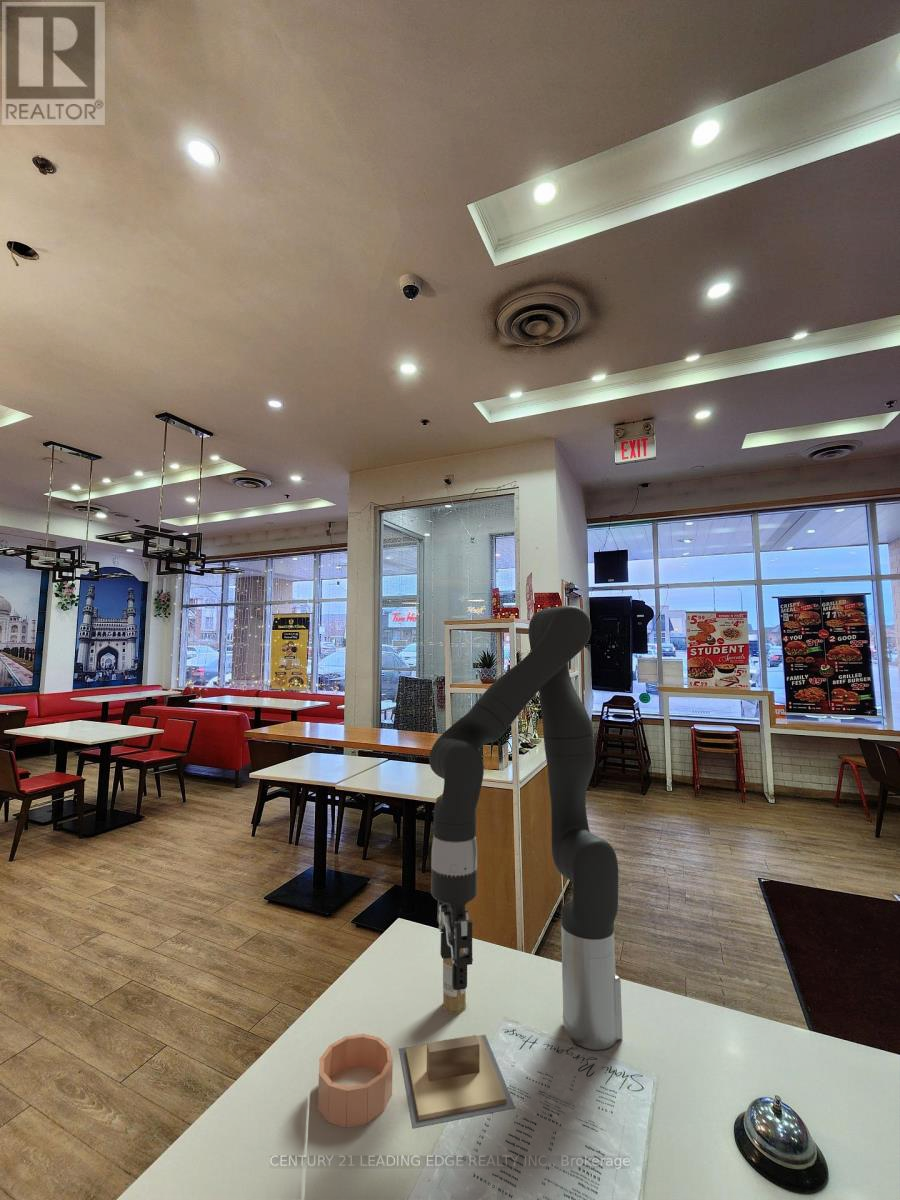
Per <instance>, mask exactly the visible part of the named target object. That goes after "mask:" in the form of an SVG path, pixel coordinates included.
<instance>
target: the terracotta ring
mask: <svg viewBox="0 0 900 1200" xmlns="http://www.w3.org/2000/svg"><path fill="white" fill-rule="evenodd" d="M392 1054H393V1053H392V1049H391V1046H389V1044H388V1043H387V1042H385V1040H383V1039H382V1038H381V1037H378V1036H374V1035H370V1034H366V1033H358V1034H353V1035H347V1036H343V1037H342V1038H340V1039H339V1040H337V1041H335V1042H333V1043H331V1044H330V1045H328V1046H327V1048H326V1049H325V1051H324V1052H323V1053H322V1055H321V1056H320V1057H319V1061H318V1062H319V1064H318V1065H319V1066H318V1067H319V1068H318V1090H317V1092H318V1093H317V1110H318V1111H319V1112H320V1114H321V1115H322V1116H323V1118H324V1119H325V1120H326V1122H328V1123H331V1124H333V1125H337V1126H340V1127H343V1128H350V1127H356V1126H360V1125H361V1126H362V1125H365V1124H369V1123H370V1122H371V1121H372V1120H374V1119H376V1118H377V1117H378V1116H380V1115H382V1114H383V1113H384V1112H385V1110H386V1108H387V1106H388V1104H389V1102H390V1100H391V1098H392V1096H393V1063H394V1061H393V1055H392Z"/></svg>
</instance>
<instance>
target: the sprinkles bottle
mask: <svg viewBox="0 0 900 1200" xmlns="http://www.w3.org/2000/svg"><path fill="white" fill-rule="evenodd" d="M454 938H455V936H454ZM461 953H464V950H463V948H461V949H460V954H461ZM466 991H467V988H466V989H462V990H454V989H453V986H452V959H451V958H446V959H443V958H442V992H443V993H442V995H443V996H442V997H443V998H442V999H443V1002H442V1009H443V1010H444V1011H445V1012H446V1013H448V1014H451V1015H459V1014H462V1013H463V1012H465V1011H466V1010H467V1002H466V1000H467V997H466V996H467V995H466V994H467V992H466Z"/></svg>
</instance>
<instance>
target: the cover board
mask: <svg viewBox="0 0 900 1200" xmlns="http://www.w3.org/2000/svg"><path fill="white" fill-rule="evenodd" d="M426 1044H427V1045H425V1044H421V1045H422V1046H418V1045H415V1046H416V1047H412V1046H408V1047H409V1048H406V1047H405V1048H406V1056H407V1062H408V1067H409V1072H410V1077H411V1083H412V1088H413V1093H414V1099H415V1104H416V1109H417V1115H418V1120H423V1119H428V1118H434V1117H439V1116H444V1115H449V1114H454V1113H459V1112H464V1111H469V1110H475V1109H480V1108H485V1107H490V1106H495V1105H500V1104H505V1103H507V1098H506V1096H505V1093H504V1091H503V1089H502V1086H501V1084H500V1081H499V1079H498V1076H497V1074H496V1071H495V1069H494V1066H493V1064H492V1061H491V1059H490V1056H489V1054H488V1051H487V1049H486V1046H485V1044H484V1041H483V1039H482V1036H480V1035H476V1034H474V1035H468V1036H467V1035H466V1036H463V1037H461V1036H460V1037H455V1038H449V1039H444V1040H443V1039H442V1040H436V1041H432V1042H427V1043H426Z"/></svg>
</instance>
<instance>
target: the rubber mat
mask: <svg viewBox="0 0 900 1200" xmlns="http://www.w3.org/2000/svg"><path fill="white" fill-rule="evenodd" d="M479 1036H482V1039H483V1041H484V1044H485V1046H486V1049H487V1051H488V1054H489V1056H490V1059H491V1061H492V1064H493V1066H494V1069H495V1071H496V1074H497V1076H498V1079H499V1081H500V1084H501V1086H502V1089H503V1091H504V1093H505V1096H506V1098H507V1103H505V1104H500V1105H495V1106H490V1107H485V1108H480V1109H475V1110H469V1111H464V1112H459V1113H454V1114H449V1115H444V1116H439V1117H434V1118H428V1119H423V1120H418V1115H417V1109H416V1104H415V1099H414V1093H413V1088H412V1083H411V1077H410V1072H409V1067H408V1062H407V1056H406V1048H409V1047H410V1046H406V1047H401V1048H398V1052H399V1056H400V1063H401V1069H402V1075H403V1080H404V1081H403V1082H404V1085H405V1092H406V1098H407V1104H408V1109H409V1115H410V1121H411V1126H412V1129H417V1128H422V1127H423V1128H424V1127H426V1126H431V1125H432V1126H433V1125H437V1124H442V1123H448V1122H453V1121H457V1120H461V1119H462V1120H463V1119H469V1118H473V1117H478V1116H483V1115H487V1114H493V1113H497V1112H503V1111H509V1110H513V1109H516V1106H515V1103H514V1101H513V1099H512V1096H511V1094H510V1091H509V1089H508V1086H507V1084H506V1081H505V1080H504V1077H503V1074H502V1072H501V1070H500V1067H499V1065H498V1063H497V1060H496V1057H495V1054H494V1052H493V1051H492V1048H491V1045H490V1043H489V1040H488V1038H487V1036H486V1034H481V1035H479ZM422 1045H423V1044H419V1045H413V1046H411V1047H416V1046H422ZM424 1045H427V1043H424Z"/></svg>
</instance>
